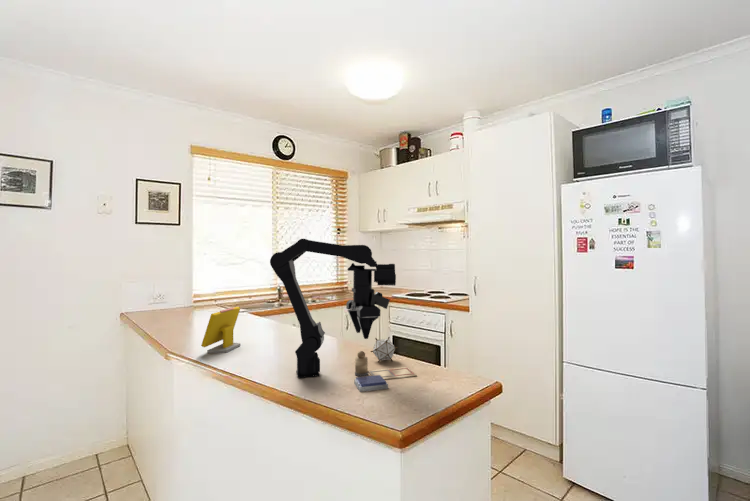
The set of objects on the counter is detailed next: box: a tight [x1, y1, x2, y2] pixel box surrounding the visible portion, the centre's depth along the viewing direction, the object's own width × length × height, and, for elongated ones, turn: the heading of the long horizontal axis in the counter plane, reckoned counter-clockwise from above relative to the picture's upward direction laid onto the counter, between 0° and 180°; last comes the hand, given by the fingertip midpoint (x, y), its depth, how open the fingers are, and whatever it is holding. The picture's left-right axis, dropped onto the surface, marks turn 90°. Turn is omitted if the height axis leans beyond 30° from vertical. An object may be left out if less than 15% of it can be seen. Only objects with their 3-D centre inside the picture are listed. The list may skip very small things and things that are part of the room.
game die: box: [370, 336, 398, 363], centre depth 134 cm, size 9×8×10 cm
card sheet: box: [368, 366, 418, 381], centre depth 119 cm, size 13×9×1 cm
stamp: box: [354, 350, 369, 377], centre depth 119 cm, size 4×4×7 cm
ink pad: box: [353, 375, 389, 392], centre depth 109 cm, size 8×7×2 cm
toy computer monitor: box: [201, 306, 241, 354], centre depth 153 cm, size 20×8×16 cm, turn 172°
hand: (362, 335), depth 120 cm, fingers open, 9 cm apart
